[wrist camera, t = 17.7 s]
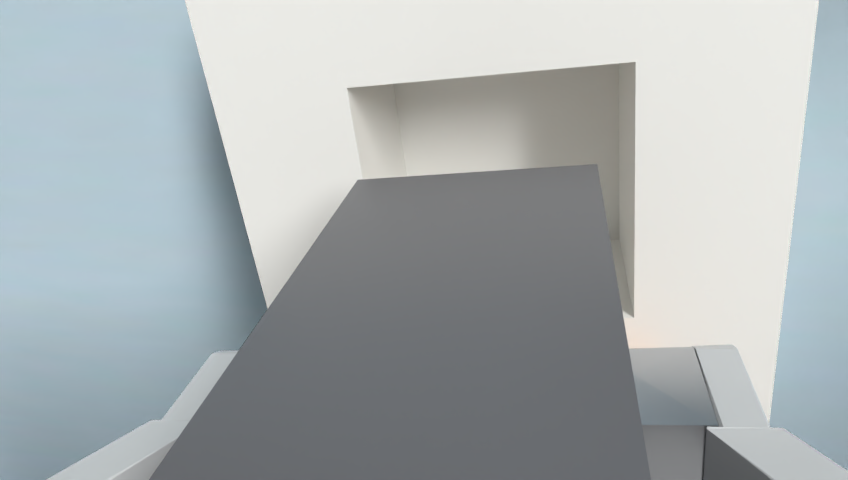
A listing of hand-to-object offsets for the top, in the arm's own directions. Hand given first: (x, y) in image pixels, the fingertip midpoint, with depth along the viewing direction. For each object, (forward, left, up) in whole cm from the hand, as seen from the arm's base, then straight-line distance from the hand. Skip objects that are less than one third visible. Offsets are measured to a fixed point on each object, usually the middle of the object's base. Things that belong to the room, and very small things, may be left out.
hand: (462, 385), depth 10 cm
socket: (+2, 0, -12) cm, 12 cm away
